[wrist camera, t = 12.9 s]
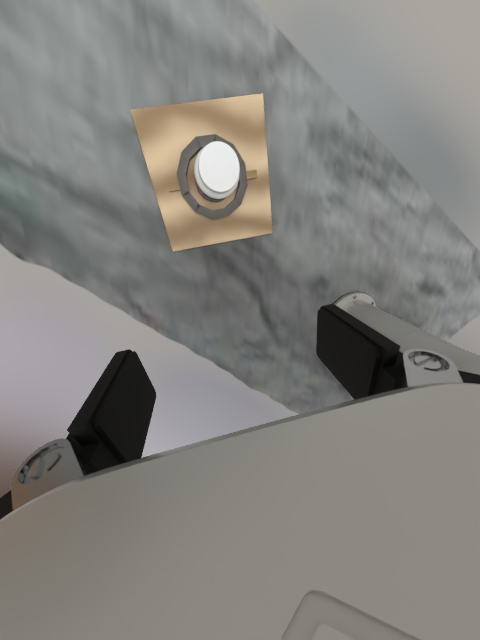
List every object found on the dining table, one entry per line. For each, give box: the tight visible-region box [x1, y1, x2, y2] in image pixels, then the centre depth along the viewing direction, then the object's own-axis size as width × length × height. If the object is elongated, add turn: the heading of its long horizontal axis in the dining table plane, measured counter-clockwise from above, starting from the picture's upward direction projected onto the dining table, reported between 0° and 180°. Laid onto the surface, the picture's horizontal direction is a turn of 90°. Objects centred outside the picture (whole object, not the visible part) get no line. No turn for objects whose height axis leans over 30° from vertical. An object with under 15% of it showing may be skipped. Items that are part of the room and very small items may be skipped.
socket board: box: [131, 94, 273, 252], centre depth 31 cm, size 18×18×2 cm
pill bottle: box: [194, 141, 240, 202], centre depth 27 cm, size 6×6×10 cm
